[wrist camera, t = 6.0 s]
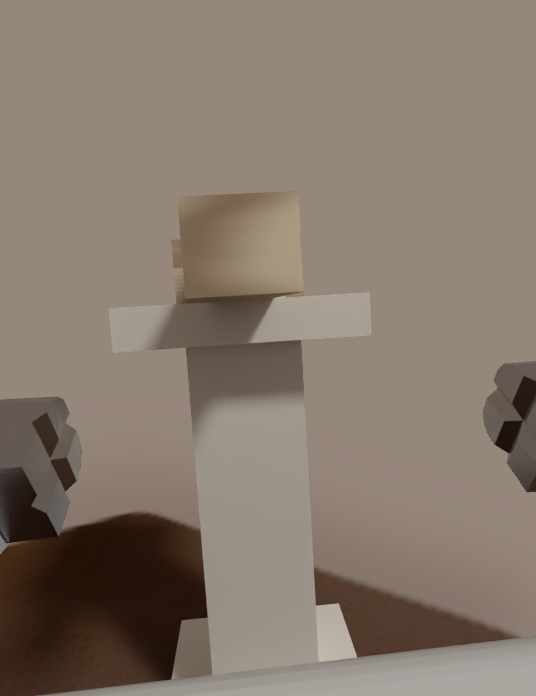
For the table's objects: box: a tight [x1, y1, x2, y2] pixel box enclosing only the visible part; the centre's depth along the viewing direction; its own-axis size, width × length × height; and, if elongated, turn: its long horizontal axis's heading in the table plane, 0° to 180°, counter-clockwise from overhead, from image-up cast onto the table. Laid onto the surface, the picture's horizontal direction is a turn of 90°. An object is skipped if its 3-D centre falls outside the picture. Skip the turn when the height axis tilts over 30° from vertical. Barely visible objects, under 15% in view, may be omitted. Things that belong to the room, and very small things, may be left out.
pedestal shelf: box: [108, 293, 371, 680], centre depth 27 cm, size 12×11×25 cm
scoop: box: [171, 191, 304, 304], centre depth 20 cm, size 7×19×4 cm, turn 4°
